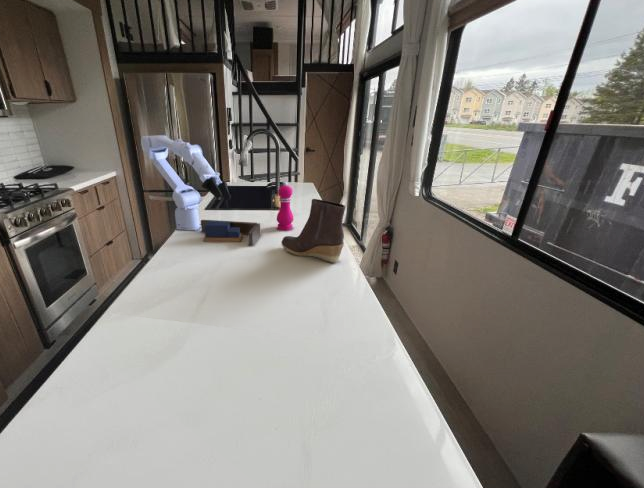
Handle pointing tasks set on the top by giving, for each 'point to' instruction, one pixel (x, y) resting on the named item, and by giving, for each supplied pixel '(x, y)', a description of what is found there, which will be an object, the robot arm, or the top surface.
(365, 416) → the top surface
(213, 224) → the trainer
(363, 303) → the top surface
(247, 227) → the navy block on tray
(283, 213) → the pepper mill
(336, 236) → the boot
